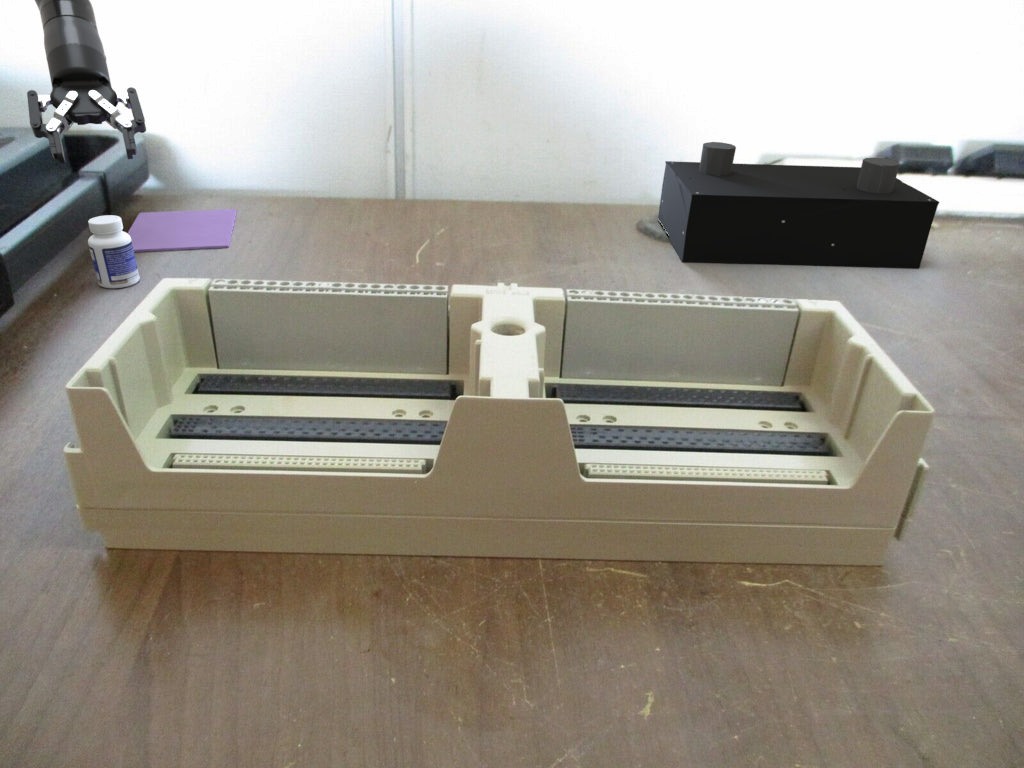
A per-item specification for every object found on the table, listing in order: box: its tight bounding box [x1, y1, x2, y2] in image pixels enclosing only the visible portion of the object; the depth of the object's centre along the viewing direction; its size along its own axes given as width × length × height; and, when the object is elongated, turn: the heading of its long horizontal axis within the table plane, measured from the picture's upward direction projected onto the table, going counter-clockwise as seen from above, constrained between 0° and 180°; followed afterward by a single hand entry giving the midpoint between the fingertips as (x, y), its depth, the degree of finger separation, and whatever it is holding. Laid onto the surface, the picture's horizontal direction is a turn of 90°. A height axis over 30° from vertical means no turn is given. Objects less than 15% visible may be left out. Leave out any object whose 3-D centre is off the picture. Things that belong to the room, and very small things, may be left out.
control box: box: [657, 141, 940, 269], centre depth 128 cm, size 38×24×15 cm, turn 90°
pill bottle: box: [87, 214, 141, 289], centre depth 103 cm, size 5×5×9 cm
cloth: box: [126, 208, 238, 253], centre depth 126 cm, size 16×20×1 cm
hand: (96, 158), depth 106 cm, fingers open, 8 cm apart
